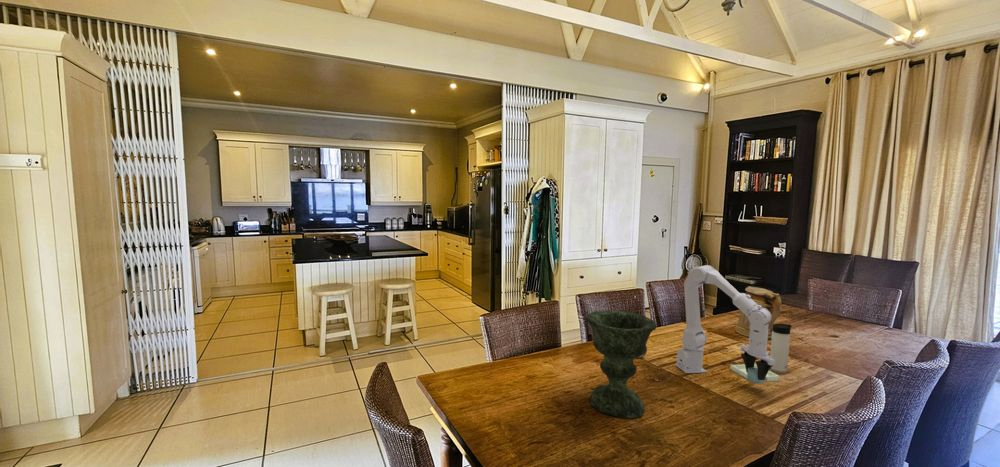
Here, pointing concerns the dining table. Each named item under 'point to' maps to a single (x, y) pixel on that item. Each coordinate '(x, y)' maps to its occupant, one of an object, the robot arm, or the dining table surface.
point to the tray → (742, 369)
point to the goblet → (619, 359)
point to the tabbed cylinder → (754, 375)
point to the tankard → (766, 301)
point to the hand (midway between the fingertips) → (755, 376)
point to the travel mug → (780, 347)
